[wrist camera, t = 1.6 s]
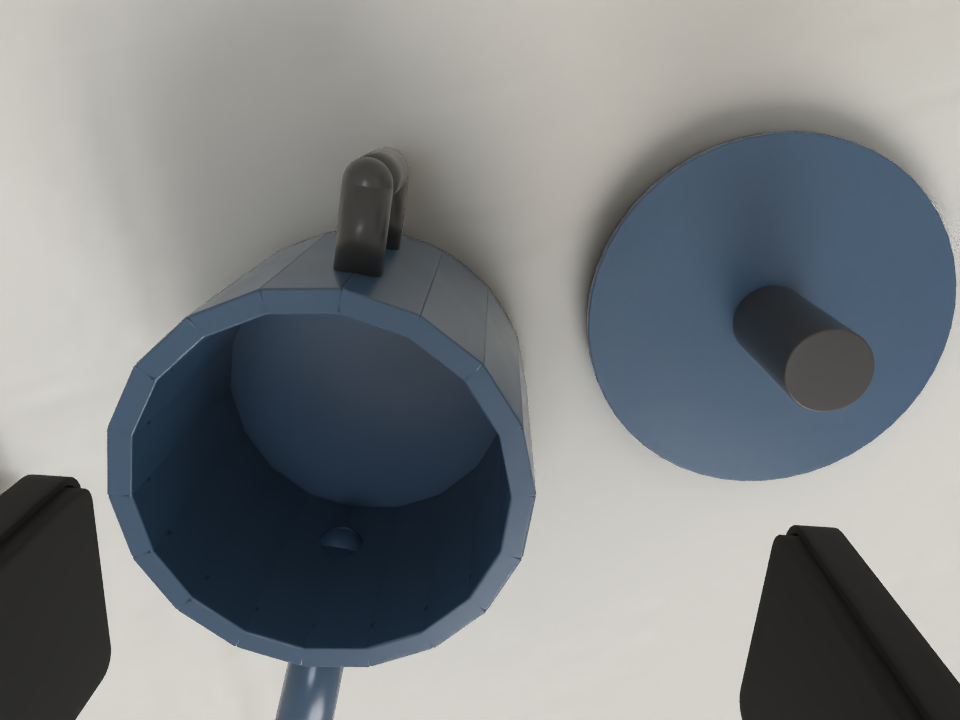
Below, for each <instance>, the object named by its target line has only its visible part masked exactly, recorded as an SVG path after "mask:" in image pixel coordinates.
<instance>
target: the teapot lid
mask: <svg viewBox="0 0 960 720" xmlns="http://www.w3.org/2000/svg"><path fill="white" fill-rule="evenodd" d="M955 299H956V274H955V265H954V257H953V253H952V249H951V245H950V241H949V237H948V235H947V232H946V230H945V228H944V225H943V223H942V221H941V218H940V216H939V214H938V212H937V211H936V209H935V208H934V206H933V204H932V203H931V201H930V200H929V198H928V196H927V195H926V194H925V193H924V191H923V190H922V189H921V188H920V187H919V186H918V185H917V183H916V182H915V181H914V180H913V179H912V178H911V177H910V176H909V175H908V174H906V173H905V172H904V171H903V170H902V169H900V168H899V167H898V166H897V165H896V164H894V163H893V162H892V161H890V160H888V159H887V158H885V157H883V156H882V155H880V154H878V153H877V152H875V151H873V150H871V149H869V148H866V147H864V146H861V145H859V144H857V143H854V142H852V141H849V140H845V139H841V138H837V137H833V136H829V135H824V134H815V133H805V132H796V131H795V132H769V133H763V134H757V135H751V136H745V137H742V138H738V139H735V140H732V141H728V142H725V143H722V144H719V145H717V146H714V147H712V148H710V149H708V150H705V151H703V152H701V153H699V154H696V155H695V156H693V157H691V158H690V159H688V160H686V161H685V162H683V163H681V164H680V165H678V166H676V167H675V168H673V169H672V170H670V171H669V172H668V173H667V174H665V175H664V176H663V177H662V178H660V179H659V180H658V181H656V182H655V183H654V184H653V185H652V186H651V187H650V188H649V189H648V190H647V191H646V192H645V193H644V194H643V195H642V196H641V197H640V198H639V199H638V200H637V201H636V202H635V203H634V204H633V205H632V207H631V208H630V209H629V210H628V212H627V213H626V214H625V216H624V217H623V218H622V219H621V221H620V222H619V224H618V225H617V227H616V229H615V230H614V232H613V234H612V235H611V237H610V239H609V240H608V242H607V244H606V246H605V248H604V251H603V253H602V255H601V258H600V260H599V262H598V265H597V267H596V271H595V274H594V278H593V281H592V285H591V289H590V295H589V302H588V309H587V337H588V345H589V353H590V357H591V361H592V365H593V368H594V372H595V376H596V378H597V381H598V383H599V385H600V388H601V390H602V392H603V395H604V397H605V399H606V401H607V402H608V404H609V405H610V407H611V409H612V410H613V412H614V414H615V415H616V417H617V418H618V419H619V420H620V421H621V423H622V424H623V425H624V426H625V427H626V429H627V430H628V431H629V432H630V433H631V434H632V435H633V436H634V437H635V438H637V439H638V440H639V441H640V442H641V443H642V444H643V445H644V446H646V447H647V448H649V449H650V450H651V451H653V452H654V453H656V454H657V455H659V456H660V457H662V458H664V459H666V460H668V461H670V462H672V463H673V464H675V465H677V466H679V467H682V468H685V469H687V470H690V471H693V472H696V473H699V474H702V475H707V476H711V477H716V478H720V479H729V480H739V481H763V480H772V479H780V478H787V477H791V476H796V475H800V474H804V473H808V472H811V471H814V470H816V469H819V468H822V467H825V466H827V465H830V464H832V463H834V462H836V461H838V460H840V459H842V458H844V457H846V456H849V455H851V454H852V453H854V452H856V451H857V450H859V449H860V448H862V447H863V446H865V445H867V444H868V443H870V442H871V441H873V440H874V439H875V438H876V437H878V436H879V435H880V434H881V433H883V432H884V431H885V430H886V429H888V428H889V427H890V426H891V425H892V424H893V423H894V422H895V421H896V420H897V419H898V418H899V417H900V416H901V415H902V414H903V413H904V412H905V411H906V410H907V409H908V408H909V406H910V405H911V404H912V403H913V401H914V400H915V399H916V398H917V396H918V395H919V394H920V392H921V391H922V390H923V388H924V386H925V385H926V383H927V382H928V380H929V378H930V377H931V375H932V374H933V372H934V370H935V368H936V366H937V364H938V361H939V359H940V357H941V355H942V353H943V351H944V348H945V345H946V342H947V339H948V336H949V332H950V329H951V325H952V320H953V314H954V309H955Z"/></svg>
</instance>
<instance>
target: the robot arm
mask: <svg viewBox="0 0 960 720" xmlns="http://www.w3.org/2000/svg"><path fill="white" fill-rule="evenodd" d="M110 656H111V645H110V637H109V629H108V621H107V613H106V605H105V597H104V589H103V581H102V573H101V565H100V557H99V549H98V541H97V533H96V525H95V517H94V508H93V500H92V496H91V494H90V492H89V491H88V490H87V489H82V488H81V487H80V484H79V483H78V481H77V480H76V479H75V478H73V477H62V476H47V475H27V476H25V477H23V478H22V479H20V480H19V481H18V482H17V483H15V484H14V485H13V486H12V487H10V488H9V489H8V490H7V491H6V492H4V493H3V494H2V495H1V496H0V720H75V719H76V718H77V716H78V715H79V713H80V712H81V711H82V709H83V708H84V706H85V705H86V703H87V702H88V700H89V699H90V697H91V696H92V694H93V693H94V691H95V690H96V688H97V687H98V685H99V684H100V682H101V681H102V679H103V678H104V676H105V674H106V672H107V669H108V666H109V662H110ZM740 711H741V717H742V720H960V684H959V682H958V681H957V680H956V678H955V677H954V676H953V675H952V673H951V672H950V671H949V669H948V668H947V667H946V666H945V664H944V663H943V662H942V660H941V659H940V658H939V657H938V655H937V654H936V653H935V651H934V650H933V649H932V648H931V646H930V645H929V644H928V642H927V641H926V640H925V639H924V637H923V636H922V635H921V633H920V632H919V631H918V630H917V628H916V627H915V626H914V624H913V623H912V622H911V620H910V619H909V618H908V617H907V615H906V614H905V613H904V611H903V610H902V609H901V608H900V606H899V605H898V604H897V602H896V601H895V600H894V599H893V597H892V596H891V595H890V593H889V592H888V591H887V590H886V588H885V587H884V586H883V584H882V583H881V582H880V581H879V579H878V578H877V577H876V575H875V574H874V573H873V572H872V570H871V569H870V568H869V566H868V565H867V564H866V563H865V561H864V560H863V559H862V557H861V556H860V555H859V554H858V552H857V551H856V550H855V548H854V547H853V546H852V545H851V543H850V542H849V541H848V539H847V538H846V537H845V536H844V534H843V533H842V532H841V531H840V530H839V529H837V528H830V527H815V526H800V525H793V526H792V527H790V529H789V530H788V532H787V534H786V535H778V536H776V538H775V540H774V542H773V545H772V549H771V554H770V559H769V563H768V568H767V572H766V577H765V581H764V586H763V590H762V595H761V599H760V604H759V608H758V613H757V617H756V622H755V626H754V631H753V635H752V640H751V645H750V649H749V654H748V658H747V663H746V667H745V672H744V676H743V681H742V685H741V690H740Z"/></svg>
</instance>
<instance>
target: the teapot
mask: <svg viewBox="0 0 960 720" xmlns="http://www.w3.org/2000/svg"><path fill="white" fill-rule="evenodd" d="M336 235H337V232H330V233H325V234H322V235H320V236H316V237H313V238H310V239H307V240H304V241H302V242H300V243H297V244H295V245H293V246H291V247H289V248H286V249H283V250H281V251H278V252H277V253H275V254H273V255H272V256H270V257H269V258H268V259H266V260H265V261H263V262H262V263H261V264H259V265H258V266H256V267H255V268H254V269H252V270H251V271H249V272H248V273H247V274H245V275H244V276H243V277H241V278H240V279H238V280H237V281H236V282H234V283H233V284H231V285H230V286H229V287H227V288H226V289H224V290H223V291H222V292H220V293H219V294H217V295H216V296H215V297H213V298H212V299H210V300H209V301H208V302H206V303H205V304H204V305H202V306H201V307H199V308H198V309H197V310H195V311H194V312H192V313H191V314H190V315H188V316H187V317H186V318H184V319H183V320H182V321H181V322H180V323H179V324H178V325H177V326H176V327H175V328H174V329H173V330H172V331H171V332H169V333H168V334H167V335H166V336H165V337H164V338H163V339H162V340H161V341H160V342H159V343H158V344H157V345H155V346H154V347H153V348H152V349H151V350H150V351H149V352H148V353H147V354H146V355H145V356H144V357H143V358H142V359H140V360H139V361H138V362H137V364H136V365H135V366H134V367H133V370H132V372H131V374H130V377H129V379H128V381H127V384H126V386H125V388H124V391H123V393H122V395H121V398H120V400H119V402H118V405H117V407H116V409H115V412H114V414H113V416H112V418H111V421H110V423H109V425H108V430H107V458H108V495H109V499H110V501H111V504H112V506H113V509H114V511H115V514H116V516H117V519H118V522H119V524H120V527H121V529H122V532H123V534H124V537H125V539H126V542H127V544H128V547H129V549H130V552H131V554H132V556H133V559H134V560H135V561H136V562H137V564H138V565H139V566H140V567H141V568H142V569H143V571H144V572H145V573H146V574H147V575H148V576H149V578H150V579H151V580H152V581H153V582H154V583H155V585H156V586H157V587H158V588H159V589H160V590H161V592H162V593H163V594H164V595H165V596H166V597H167V599H168V600H169V601H170V602H171V603H172V604H173V606H174V607H175V608H176V609H178V610H179V611H180V612H182V613H183V614H185V615H186V616H188V617H189V618H191V619H193V620H194V621H196V622H197V623H199V624H201V625H202V626H204V627H205V628H207V629H208V630H210V631H212V632H213V633H215V634H216V635H218V636H219V637H221V638H223V639H224V640H226V641H227V642H229V643H230V644H232V645H234V646H236V645H237V647H239V648H242V649H246V650H249V651H252V652H256V653H259V654H263V655H266V656H269V657H273V658H276V659H280V660H283V661H286V662H290V663H293V664H297V665H302V666H306V667H369V666H370V665H371V666H374V665H377V664H381V663H384V662H387V661H391V660H394V659H397V658H401V657H404V656H408V655H411V654H414V653H418V652H421V651H425V650H428V649H431V648H432V647H434V648H435V647H436V646H438V645H439V644H440V643H442V642H443V641H445V640H446V639H448V638H449V637H450V636H452V635H453V634H455V633H456V632H458V631H459V630H460V629H462V628H463V627H465V626H466V625H468V624H469V623H471V622H472V621H473V620H475V619H476V618H478V617H479V616H481V615H482V614H483V613H485V612H486V610H487V609H488V608H489V606H490V605H491V603H492V602H493V601H494V599H495V598H496V596H497V595H498V593H499V592H500V590H501V589H502V587H503V586H504V584H505V583H506V582H507V580H508V579H509V577H510V576H511V574H512V573H513V571H514V570H515V568H516V567H517V565H518V564H519V563H520V561H521V558H522V556H523V553H524V549H525V544H526V539H527V535H528V530H529V525H530V521H531V516H532V511H533V507H534V502H535V495H536V490H535V478H534V467H533V456H532V445H531V434H530V423H529V411H528V400H527V389H526V382H525V376H524V371H523V365H522V359H521V353H520V349H519V343H518V338H517V335H516V333H515V331H514V329H513V328H512V326H511V324H510V321H509V319H508V317H507V315H506V313H505V312H504V310H503V308H502V307H501V305H500V304H499V302H498V301H497V299H496V297H495V296H494V295H493V294H492V293H491V291H490V289H489V288H488V287H487V286H486V285H485V284H484V283H483V282H482V281H481V280H480V279H479V278H478V277H477V276H476V275H475V274H474V273H473V272H472V271H470V270H469V269H468V268H467V267H466V266H465V265H463V264H462V263H460V262H459V261H457V260H456V259H455V258H453V257H452V256H450V255H449V254H447V253H445V252H443V251H441V250H440V249H438V248H436V247H434V246H432V245H430V244H427V243H425V242H422V241H419V240H417V239H414V238H411V237H408V236H404V235H401V241H400V249H399V250H390V249H386V252H385V260H384V268H383V275H382V276H381V277H369V276H364V275H360V274H357V273H354V274H353V273H348V272H339V271H336V270H334V269H333V265H334V255H335V245H336ZM336 526H346V527H349V528H352V529H354V530H355V531H356V532H358V533H359V535H360V536H361V537H362V539H363V544H362V546H361V548H359V549H358V550H357V551H356V552H354V553H353V554H351V555H349V556H346V557H343V558H339V559H334V558H332V557H331V556H329V555H328V554H327V553H326V552H325V551H324V550H323V549H322V547H321V546H320V543H319V538H320V536H321V534H322V533H324V532H325V531H326V530H328V529H330V528H332V527H336Z"/></svg>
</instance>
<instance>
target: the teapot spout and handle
mask: <svg viewBox="0 0 960 720" xmlns="http://www.w3.org/2000/svg"><path fill="white" fill-rule="evenodd" d="M408 179H409V164H408V161H407V159H406V157H405V156H404V155H403V154H402V153H401V152H400V151H398V150H397V149H394V148H390V147H383V148H379V149H377V150H375V151H373V152H371V153H369V154H366V155H364V156H362V157H360V158H358V159H356V160H354V161H352V162H351V163H350V164H349V165H348V166H347V168H346V169H345V171H344V173H343V177H342V185H341V195H340V205H339V215H338V225H337V235H336V245H335V255H334V265H333V269H334V270H336V271H339V272H348V273H353V274H354V273H357V274H360V275H364V276H369V277H381V276H382V275H383V268H384V260H385V252H386V249H390V250H399V249H400V241H401V233H402V226H403V218H404V210H405V202H406V194H407V187H408ZM319 543H320V546H321V547H322V549H323V550H324V551H325V552H326V553H327V554H328V555H329V556H331V557H332V558H334V559H339V558H343V557H346V556H349V555H351V554H353V553H354V552H356V551H357V550H358V549H359V548H361V546H362V544H363V539H362V537H361V536H360V535H359V533H358V532H356V531H355V530H354V529H352V528H349V527H346V526H336V527H332V528H330V529H328V530H326V531H325V532H324V533H322V534H321V536H320V538H319ZM342 672H343V667H306V666H302V665H297V664H293V663H290V662H288V666H287V670H286V675H285V679H284V683H283V688H282V692H281V697H280V701H279V706H278V710H277V714H276V719H275V720H333V718H334V713H335V708H336V703H337V698H338V693H339V687H340V682H341V677H342Z"/></svg>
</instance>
